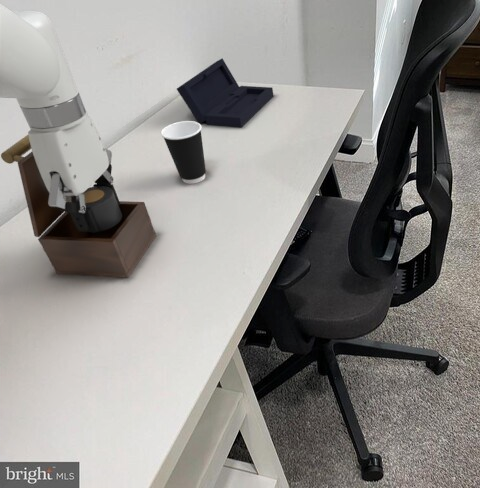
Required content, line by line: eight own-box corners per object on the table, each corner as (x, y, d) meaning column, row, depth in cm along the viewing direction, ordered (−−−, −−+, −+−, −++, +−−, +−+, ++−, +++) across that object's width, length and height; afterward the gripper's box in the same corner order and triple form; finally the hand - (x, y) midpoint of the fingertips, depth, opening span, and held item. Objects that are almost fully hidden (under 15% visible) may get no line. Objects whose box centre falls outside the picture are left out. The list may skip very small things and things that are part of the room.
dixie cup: (167, 182, 101) (151, 133, 94) (193, 165, 106) (181, 118, 99) (194, 191, 97) (181, 141, 90) (220, 173, 102) (209, 124, 95)
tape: (91, 237, 74) (80, 212, 71) (73, 222, 78) (62, 198, 75) (129, 218, 78) (120, 194, 75) (110, 205, 81) (101, 181, 78)
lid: (67, 128, 74) (34, 120, 74) (22, 163, 66) (-15, 154, 66) (77, 198, 83) (48, 190, 83) (38, 237, 74) (6, 229, 74)
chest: (156, 236, 86) (144, 201, 81) (127, 277, 77) (112, 242, 73) (91, 233, 88) (76, 199, 83) (56, 274, 79) (37, 239, 75)
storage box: (241, 127, 120) (234, 88, 114) (185, 122, 124) (175, 84, 118) (273, 96, 135) (268, 59, 129) (222, 93, 140) (215, 57, 134)
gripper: (65, 88, 74) (105, 189, 85) (-13, 138, 60) (47, 250, 71) (110, 88, 72) (145, 190, 83) (41, 139, 59) (93, 253, 70)
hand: (99, 217), depth 77 cm, fingers closed on tape, 6 cm apart
